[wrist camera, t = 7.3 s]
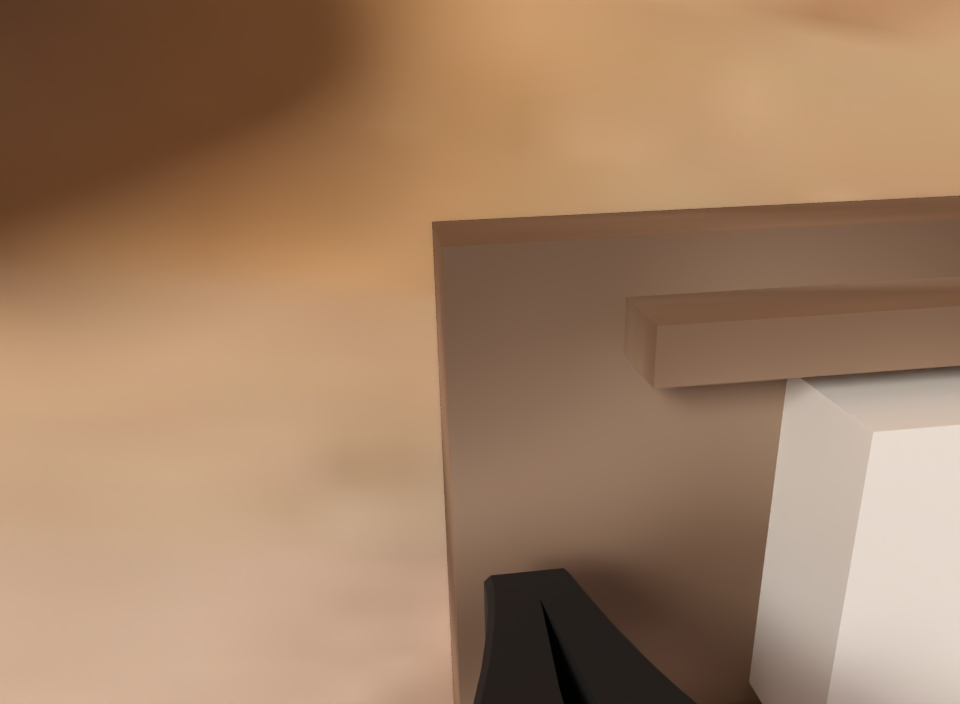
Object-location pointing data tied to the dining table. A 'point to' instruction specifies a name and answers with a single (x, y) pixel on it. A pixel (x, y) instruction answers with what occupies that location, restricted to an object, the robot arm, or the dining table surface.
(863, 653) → the cream cover
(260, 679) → the dining table surface
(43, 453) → the dining table surface
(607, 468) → the board
